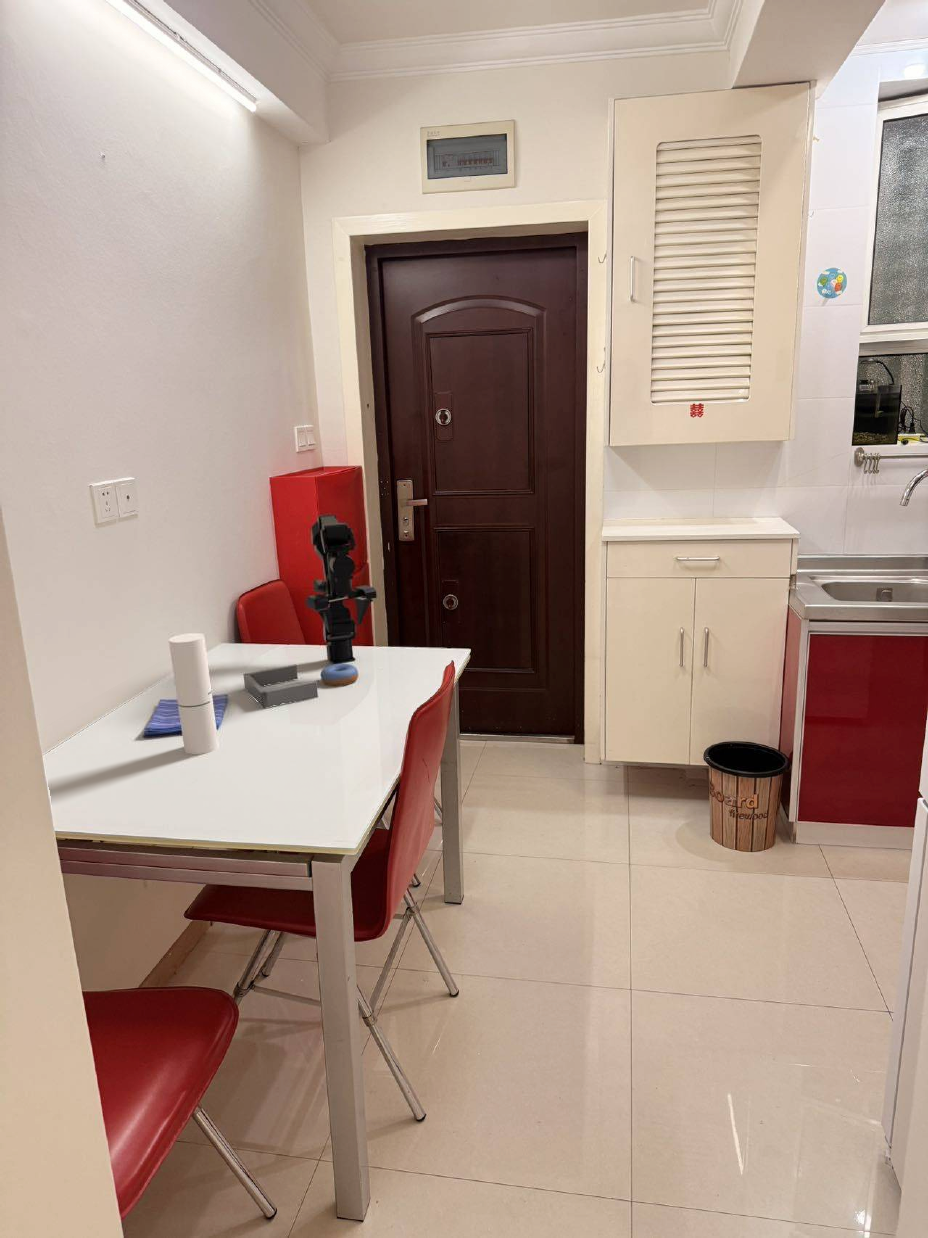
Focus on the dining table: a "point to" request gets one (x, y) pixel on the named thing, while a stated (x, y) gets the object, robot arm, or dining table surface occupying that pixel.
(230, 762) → the dining table surface
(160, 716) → the dish towel
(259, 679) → the box
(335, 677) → the doughnut
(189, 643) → the cylindrical container
